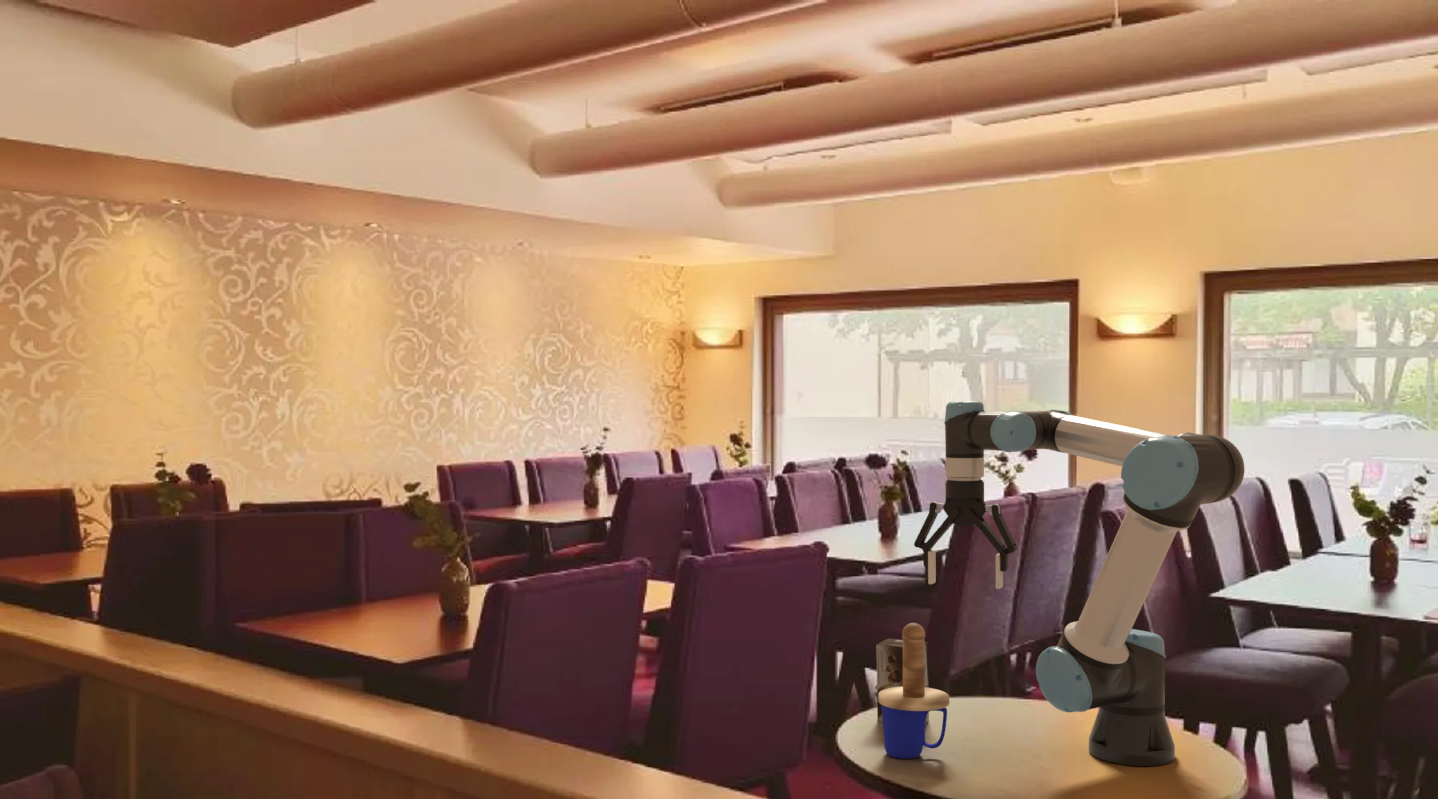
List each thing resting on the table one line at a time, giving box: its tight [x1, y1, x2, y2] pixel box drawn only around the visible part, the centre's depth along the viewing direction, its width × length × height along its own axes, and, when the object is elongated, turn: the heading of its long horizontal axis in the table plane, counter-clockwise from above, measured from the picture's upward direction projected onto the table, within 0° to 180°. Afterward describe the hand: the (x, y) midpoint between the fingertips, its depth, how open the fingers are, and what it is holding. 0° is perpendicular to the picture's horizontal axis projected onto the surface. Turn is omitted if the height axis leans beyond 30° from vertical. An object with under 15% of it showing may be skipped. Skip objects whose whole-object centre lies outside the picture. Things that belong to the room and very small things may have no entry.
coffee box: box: [875, 638, 930, 723], centre depth 250 cm, size 9×6×16 cm
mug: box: [881, 704, 948, 760], centre depth 227 cm, size 8×12×10 cm
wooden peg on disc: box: [878, 622, 950, 712], centre depth 227 cm, size 13×13×15 cm
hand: (965, 585), depth 244 cm, fingers open, 13 cm apart
